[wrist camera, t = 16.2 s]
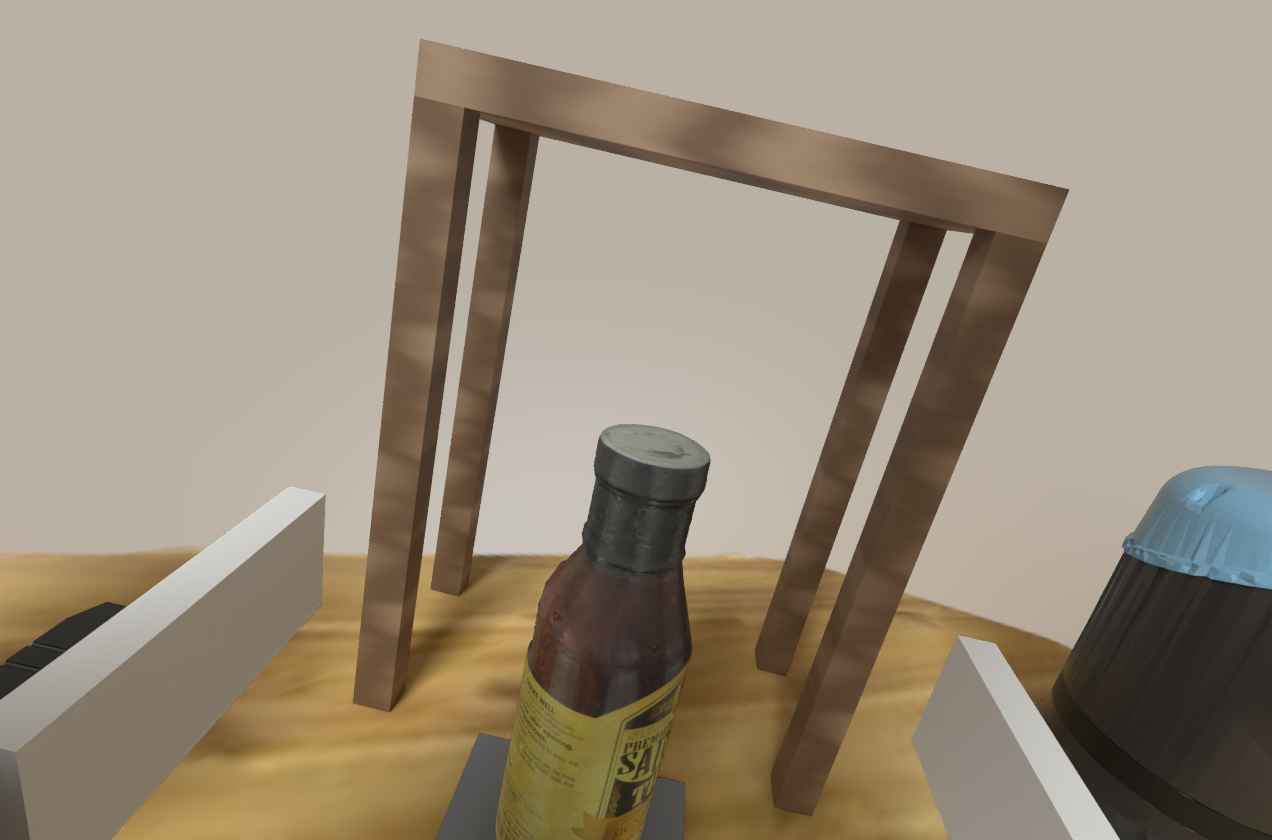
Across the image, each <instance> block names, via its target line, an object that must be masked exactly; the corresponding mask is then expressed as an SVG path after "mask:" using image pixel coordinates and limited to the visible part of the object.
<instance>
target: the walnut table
mask: <svg viewBox="0 0 1272 840" xmlns="http://www.w3.org/2000/svg"><path fill="white" fill-rule="evenodd" d="M479 119H481V120H484V121H487V122H490V123H493V124H495V130H494V138H493V144H492V152H491V158H490V166H489V173H488V180H487V188H486V194H485V202H484V209H483V216H482V224H481V230H480V238H479V245H478V252H477V259H476V267H475V274H474V281H473V288H472V295H471V303H470V310H469V317H468V324H467V332H466V339H465V346H464V353H463V360H462V367H461V375H460V382H459V389H458V397H457V403H456V410H455V418H454V425H453V432H452V439H451V447H450V453H449V461H448V468H447V475H446V482H445V490H444V497H443V504H442V511H441V518H440V526H439V533H438V540H437V548H436V554H435V561H434V569H433V576H432V583H431V589H432V590H436V591H440V592H444V593H448V594H452V595H457V596H459V595H460V593H461V592H462V590H463V588H464V587H465V585H466V583H467V582H468V579H469V573H470V567H471V560H472V554H473V548H474V541H475V535H476V529H477V522H478V516H479V510H480V504H481V497H482V491H483V485H484V478H485V472H486V466H487V460H488V454H489V448H490V441H491V434H492V429H493V423H494V416H495V410H496V404H497V397H498V391H499V385H500V378H501V372H502V366H503V360H504V354H505V347H506V341H507V335H508V328H509V323H510V316H511V310H512V303H513V297H514V291H515V284H516V279H517V272H518V266H519V260H520V253H521V247H522V241H523V235H524V229H525V222H526V215H527V210H528V204H529V197H530V191H531V185H532V178H533V172H534V166H535V160H536V154H537V147H538V141H539V136H542V137H546V138H550V139H554V140H559V141H563V142H568V143H571V144H576V145H580V146H585V147H589V148H593V149H597V150H602V151H606V152H610V153H614V154H619V155H623V156H627V157H631V158H636V159H640V160H644V161H648V162H653V163H658V164H662V165H666V166H670V167H674V168H678V169H683V170H687V171H692V172H695V173H700V174H704V175H709V176H713V177H717V178H721V179H726V180H730V181H735V182H738V183H743V184H747V185H751V186H755V187H760V188H764V189H768V190H772V191H777V192H781V193H785V194H790V195H794V196H798V197H803V198H807V199H811V200H815V201H820V202H824V203H828V204H833V205H837V206H841V207H845V208H849V209H854V210H858V211H862V212H867V213H871V214H875V215H879V216H884V217H888V218H892V219H897V220H900V221H899V225H898V227H897V230H896V233H895V236H894V239H893V242H892V245H891V248H890V251H889V254H888V257H887V260H886V263H885V266H884V269H883V272H882V275H881V278H880V281H879V284H878V287H877V290H876V293H875V296H874V299H873V302H872V305H871V307H870V310H869V314H868V316H867V319H866V322H865V325H864V328H863V331H862V334H861V337H860V340H859V343H858V346H857V349H856V352H855V355H854V358H853V361H852V364H851V367H850V370H849V373H848V376H847V379H846V382H845V385H844V388H843V391H842V393H841V396H840V399H839V402H838V406H837V408H836V411H835V414H834V417H833V420H832V423H831V426H830V429H829V432H828V435H827V438H826V441H825V444H824V447H823V450H822V453H821V456H820V459H819V462H818V465H817V468H816V471H815V474H814V477H813V480H812V483H811V485H810V489H809V491H808V494H807V497H806V500H805V503H804V506H803V509H802V512H801V515H800V518H799V521H798V524H797V527H796V530H795V533H794V536H793V539H792V542H791V545H790V548H789V551H788V554H787V557H786V559H785V562H784V565H783V568H782V571H781V574H780V577H779V580H778V583H777V586H776V589H775V592H774V595H773V598H772V601H771V604H770V607H769V610H768V613H767V616H766V619H765V622H764V625H763V628H762V631H761V634H760V637H759V640H758V642H757V645H756V648H755V654H756V662H757V669H761V670H765V671H769V672H773V673H777V674H781V675H785V676H786V674H787V671H788V668H789V666H790V663H791V660H792V657H793V655H794V652H795V649H796V646H797V644H798V641H799V638H800V635H801V632H802V630H803V627H804V624H805V621H806V619H807V616H808V613H809V610H810V608H811V605H812V602H813V599H814V596H815V594H816V591H817V588H818V585H819V583H820V580H821V577H822V574H823V572H824V569H825V566H826V563H827V560H828V558H829V555H830V552H831V549H832V547H833V544H834V541H835V538H836V536H837V533H838V530H839V527H840V524H841V521H842V519H843V516H844V513H845V510H846V508H847V505H848V502H849V499H850V497H851V494H852V491H853V488H854V486H855V483H856V480H857V477H858V474H859V472H860V469H861V466H862V463H863V461H864V458H865V455H866V453H867V450H868V447H869V444H870V441H871V439H872V436H873V433H874V430H875V428H876V425H877V422H878V419H879V416H880V413H881V411H882V408H883V405H884V403H885V400H886V397H887V394H888V392H889V389H890V386H891V383H892V380H893V378H894V375H895V372H896V369H897V367H898V364H899V361H900V358H901V355H902V353H903V350H904V347H905V344H906V342H907V339H908V336H909V333H910V331H911V328H912V325H913V322H914V319H915V317H916V314H917V311H918V308H919V306H920V303H921V300H922V297H923V295H924V292H925V289H926V286H927V283H928V281H929V278H930V275H931V272H932V269H933V267H934V264H935V261H936V259H937V256H938V253H939V250H940V248H941V245H942V242H943V239H944V236H945V234H946V231H947V230H950V231H958V232H965V233H973V234H974V235H973V238H972V240H971V243H970V245H969V248H968V251H967V253H966V256H965V259H964V262H963V264H962V267H961V270H960V272H959V275H958V278H957V280H956V283H955V286H954V288H953V291H952V294H951V296H950V299H949V302H948V304H947V307H946V310H945V313H944V315H943V318H942V320H941V323H940V326H939V328H938V331H937V334H936V336H935V339H934V342H933V345H932V347H931V350H930V352H929V355H928V358H927V360H926V363H925V366H924V368H923V371H922V374H921V376H920V379H919V382H918V384H917V387H916V390H915V392H914V395H913V398H912V400H911V403H910V406H909V408H908V411H907V414H906V416H905V419H904V422H903V425H902V427H901V430H900V432H899V435H898V438H897V440H896V443H895V446H894V448H893V451H892V454H891V456H890V459H889V462H888V464H887V467H886V470H885V473H884V475H883V478H882V480H881V483H880V486H879V488H878V491H877V494H876V496H875V499H874V502H873V504H872V507H871V510H870V512H869V515H868V518H867V520H866V523H865V526H864V529H863V531H862V534H861V536H860V539H859V542H858V544H857V547H856V550H855V552H854V555H853V558H852V560H851V563H850V566H849V568H848V571H847V574H846V576H845V579H844V582H843V584H842V587H841V590H840V592H839V595H838V598H837V600H836V603H835V606H834V608H833V611H832V614H831V616H830V619H829V622H828V624H827V627H826V630H825V632H824V635H823V638H822V640H821V643H820V646H819V648H818V651H817V654H816V656H815V659H814V662H813V664H812V667H811V670H810V672H809V675H808V678H807V680H806V683H805V686H804V688H803V691H802V694H801V696H800V699H799V702H798V704H797V707H796V710H795V712H794V715H793V718H792V720H791V723H790V726H789V728H788V731H787V734H786V736H785V739H784V742H783V744H782V747H781V750H780V752H779V755H778V758H777V760H776V763H775V766H774V768H773V771H772V774H771V782H772V790H773V798H774V806H775V807H777V808H782V809H786V810H790V811H794V812H798V813H802V814H806V815H810V816H812V814H813V811H814V809H815V806H816V804H817V801H818V799H819V797H820V794H821V792H822V789H823V787H824V784H825V782H826V780H827V777H828V775H829V772H830V770H831V767H832V765H833V763H834V760H835V758H836V755H837V753H838V750H839V748H840V746H841V743H842V741H843V738H844V736H845V733H846V731H847V728H848V726H849V724H850V721H851V719H852V716H853V714H854V711H855V709H856V707H857V704H858V702H859V699H860V697H861V694H862V692H863V690H864V687H865V685H866V682H867V680H868V677H869V675H870V673H871V670H872V668H873V665H874V663H875V660H876V658H877V656H878V653H879V651H880V648H881V646H882V643H883V641H884V639H885V636H886V634H887V631H888V629H889V626H890V624H891V622H892V619H893V617H894V614H895V612H896V609H897V607H898V605H899V602H900V600H901V597H902V595H903V592H904V590H905V588H906V585H907V582H908V580H909V578H910V575H911V573H912V570H913V568H914V566H915V563H916V561H917V558H918V556H919V554H920V551H921V549H922V546H923V544H924V541H925V539H926V537H927V534H928V532H929V529H930V527H931V524H932V522H933V520H934V517H935V515H936V512H937V510H938V507H939V505H940V503H941V500H942V498H943V495H944V493H945V490H946V488H947V485H948V483H949V481H950V478H951V476H952V473H953V471H954V468H955V466H956V464H957V461H958V459H959V456H960V454H961V451H962V449H963V447H964V444H965V442H966V439H967V437H968V435H969V432H970V430H971V427H972V425H973V422H974V420H975V418H976V414H977V413H978V410H979V408H980V405H981V403H982V401H983V398H984V395H985V393H986V391H987V388H988V386H989V383H990V381H991V379H992V376H993V374H994V371H995V369H996V366H997V364H998V362H999V359H1000V357H1001V354H1002V352H1003V349H1004V347H1005V345H1006V342H1007V340H1008V337H1009V335H1010V332H1011V330H1012V328H1013V325H1014V323H1015V320H1016V318H1017V316H1018V313H1019V311H1020V308H1021V306H1022V303H1023V301H1024V299H1025V296H1026V294H1027V291H1028V289H1029V286H1030V284H1031V282H1032V279H1033V277H1034V274H1035V272H1036V269H1037V267H1038V264H1039V262H1040V260H1041V257H1042V255H1043V252H1044V250H1045V247H1046V245H1047V243H1048V240H1049V238H1050V235H1051V233H1052V230H1053V228H1054V225H1055V223H1056V221H1057V218H1058V216H1059V214H1060V211H1061V209H1062V206H1063V204H1064V201H1065V199H1066V197H1067V194H1068V192H1069V189H1065V188H1060V187H1056V186H1052V185H1048V184H1043V183H1038V182H1035V181H1030V180H1026V179H1022V178H1017V177H1013V176H1009V175H1004V174H1000V173H996V172H991V171H987V170H983V169H979V168H974V167H970V166H966V165H962V164H957V163H953V162H948V161H944V160H940V159H935V158H931V157H927V156H922V155H918V154H914V153H910V152H906V151H901V150H897V149H893V148H888V147H884V146H880V145H875V144H871V143H867V142H863V141H858V140H854V139H850V138H845V137H841V136H837V135H832V134H828V133H824V132H820V131H815V130H811V129H807V128H802V127H798V126H794V125H789V124H785V123H781V122H776V121H772V120H768V119H764V118H759V117H755V116H751V115H746V114H742V113H738V112H734V111H729V110H725V109H721V108H716V107H712V106H708V105H703V104H699V103H694V102H690V101H686V100H682V99H678V98H673V97H669V96H665V95H660V94H655V93H652V92H647V91H643V90H638V89H635V88H630V87H626V86H622V85H617V84H613V83H609V82H604V81H600V80H596V79H591V78H587V77H583V76H579V75H574V74H570V73H566V72H561V71H557V70H553V69H548V68H544V67H540V66H536V65H531V64H527V63H522V62H518V61H514V60H509V59H505V58H501V57H497V56H492V55H488V54H484V53H479V52H475V51H471V50H467V49H462V48H458V47H453V46H450V45H445V44H441V43H437V42H432V41H428V40H423V39H420V44H419V54H418V64H417V74H416V84H415V93H414V103H413V113H412V124H411V133H410V143H409V153H408V164H407V173H406V183H405V193H404V203H403V212H402V213H403V214H402V222H401V233H400V242H399V253H398V262H397V272H396V282H395V293H394V302H393V312H392V322H391V331H390V341H389V351H388V361H387V371H386V381H385V391H384V401H383V411H382V420H381V430H380V441H379V450H378V460H377V470H376V480H375V491H374V501H373V511H372V520H371V530H370V539H369V549H368V559H367V569H366V579H365V589H364V599H363V609H362V619H361V628H360V638H359V648H358V658H357V668H356V678H355V688H354V698H353V703H355V704H359V705H363V706H367V707H371V708H375V709H379V710H383V711H387V712H390V710H391V708H392V707H393V705H394V703H395V702H396V700H397V698H398V697H399V695H400V693H401V692H402V690H403V688H404V687H405V681H406V674H407V666H408V658H409V651H410V643H411V636H412V628H413V620H414V613H415V605H416V598H417V590H418V582H419V575H420V567H421V560H422V552H423V544H424V537H425V529H426V521H427V514H428V506H429V498H430V491H431V483H432V476H433V468H434V460H435V453H436V445H437V438H438V430H439V422H440V415H441V407H442V399H443V392H444V384H445V377H446V369H447V361H448V354H449V347H450V339H451V331H452V324H453V316H454V309H455V300H456V293H457V286H458V278H459V270H460V263H461V255H462V248H463V240H464V232H465V225H466V217H467V209H468V202H469V194H470V187H471V179H472V172H473V164H474V156H475V149H476V141H477V134H478V126H479Z"/></svg>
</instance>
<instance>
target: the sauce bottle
mask: <svg viewBox="0 0 1272 840" xmlns="http://www.w3.org/2000/svg"><path fill="white" fill-rule="evenodd" d="M709 466H710V455H709V453H708V452H707V451H706V450H705V449H704V448H703V447H702V446H701V445H700V444H698V443H697V442H695V441H694V440H692V439H690V438H688V437H686V436H684V435H682V434H680V433H677V432H674V431H671V430H668V429H664V428H659V427H655V426H647V425H636V424H620V425H615V426H611V427H608V428H606V429H605V430H604V431H603V432H602V434H601V436H600V437H599V441H598V445H597V451H596V457H595V462H594V471H595V476H596V481H595V486H594V491H593V495H592V501H591V506H590V510H589V515H588V520H587V522H586V523H585V524H584V528H583V532H582V538H583V544H582V545H581V546H580V547H579V548H578V549H577V550H576V551H575V552H574V553H573V554H571V556H570V557H569V558H568V559H567V560H565V561H562V562H561V563H560V564H559V566H558V567H557V569H556V570H555V572H554V573H553V574H552V575H551V577H550V578H549V579H548V581H547V582H546V583H545V587H544V591H543V594H542V597H541V599H540V601H539V604H538V613H537V618H536V625H535V631H534V635H533V640H531V642H530V644H529V647H528V651H527V655H526V661H525V666H524V671H523V677H522V682H521V687H520V692H519V698H518V703H517V708H516V714H515V719H514V725H513V730H512V735H511V740H510V745H509V751H508V756H507V761H506V766H505V771H504V776H503V782H502V788H501V793H500V799H499V805H498V811H497V816H496V840H640V838H641V834H642V830H643V827H644V823H645V820H646V816H647V812H648V809H649V805H650V802H651V798H652V794H653V791H654V787H655V784H656V781H657V777H658V774H659V770H660V766H661V762H662V758H663V755H664V751H665V749H666V746H667V742H668V737H669V733H670V730H671V727H672V723H673V719H674V715H675V712H676V708H677V705H678V701H679V697H680V694H681V690H682V687H683V683H684V680H685V676H686V671H687V668H688V664H689V660H690V657H691V653H692V643H691V635H690V627H689V619H688V611H687V603H686V595H685V587H684V579H683V567H682V560H683V559H684V557H685V554H686V552H685V543H686V538H687V535H688V531H689V526H690V523H691V520H692V515H693V511H694V508H695V503H696V501H697V500H698V499H699V497H700V496H701V494H702V493H703V491H704V489H705V486H706V482H707V474H708V470H709Z"/></svg>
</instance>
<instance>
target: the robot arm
mask: <svg viewBox="0 0 1272 840" xmlns="http://www.w3.org/2000/svg"><path fill="white" fill-rule="evenodd" d="M324 518H325V494H321V493H317V492H312V491H308V490H303V489H299V488H295V487H290V486H289V487H288V488H286V489H285V490H284V491H282V492H281V493H280V494H279V495H277V496H276V497H274V498H273V499H272V500H270V501H269V502H268V503H266V504H265V505H264V506H262V507H261V508H259V509H258V510H257V511H255V512H254V513H253V514H251V515H250V516H249V517H247V518H246V519H245V520H243V521H242V522H240V523H239V524H238V525H236V526H235V527H234V528H232V529H231V530H230V531H228V532H227V533H226V534H224V535H223V536H222V537H220V538H219V539H217V540H216V541H215V542H214V543H212V544H211V545H209V546H208V547H207V548H205V549H204V550H203V551H201V552H200V553H199V554H197V555H196V556H194V557H193V558H192V559H190V560H189V561H188V562H186V563H185V564H184V565H182V566H181V567H180V568H178V569H177V570H176V571H174V572H173V573H171V574H170V575H169V576H167V577H166V578H165V579H163V580H162V581H161V582H159V583H158V584H157V585H155V586H154V587H153V588H151V589H150V590H149V591H147V592H146V593H144V594H143V595H142V596H140V597H139V598H138V599H136V600H135V601H134V602H132V603H131V604H130V605H128V606H123V605H118V604H114V603H109V602H105V603H103V604H101V605H98V606H96V607H93V608H91V609H88V610H86V611H84V612H81V613H79V614H76V615H74V616H71V617H69V618H67V619H65V620H64V621H62V622H61V623H59V624H58V625H56V626H55V627H53V628H52V629H51V630H49V631H48V632H46V633H45V634H43V635H42V636H40V637H39V638H38V639H36V640H35V641H34V643H33V645H32V646H26V647H24V648H23V649H22V650H20V651H19V652H17V653H16V654H14V655H13V656H11V657H10V658H8V659H7V660H6V663H5V664H4V665H3V666H1V665H0V840H111V839H112V838H113V837H114V835H115V834H116V833H117V832H118V831H119V830H120V829H121V828H122V827H123V825H124V824H125V823H126V822H127V821H128V820H129V819H130V818H131V817H132V815H133V814H134V813H135V812H136V811H137V810H138V809H139V808H140V806H141V805H142V804H143V803H144V802H145V801H146V800H147V799H148V798H149V796H150V795H151V794H152V793H153V792H154V791H155V790H156V789H157V788H158V786H159V785H160V784H161V783H162V782H163V781H164V780H165V779H166V778H167V776H168V775H169V774H170V773H171V772H172V771H173V770H174V769H175V768H176V766H177V765H178V764H179V763H180V762H181V761H182V760H183V759H184V757H185V756H186V755H187V754H188V753H189V752H190V751H191V750H192V749H193V747H194V746H195V745H196V744H197V743H198V742H199V741H200V740H201V739H202V737H203V736H204V735H205V734H206V733H207V732H208V731H209V730H210V729H211V727H212V726H213V725H214V724H215V723H216V722H217V721H218V720H219V719H220V717H221V716H222V715H223V714H224V713H225V712H226V711H227V710H228V708H229V707H230V706H231V705H232V704H233V703H234V702H235V701H236V700H237V698H238V697H239V696H240V695H241V694H242V693H243V692H244V691H245V690H246V688H247V687H248V686H249V685H250V684H251V683H252V682H253V681H254V680H255V678H256V677H257V676H258V675H259V674H260V673H261V672H262V671H263V669H264V668H265V667H266V666H267V665H268V664H269V663H270V662H271V661H272V659H273V658H274V657H275V656H276V655H277V654H278V653H279V652H280V651H281V649H282V648H283V647H284V646H285V645H286V644H287V643H288V642H289V641H290V639H291V638H292V637H293V636H294V635H295V634H296V633H297V632H298V631H299V629H300V628H301V627H302V626H303V625H304V624H305V623H306V622H307V620H308V619H309V618H310V617H311V616H312V615H313V614H314V613H315V612H316V610H317V609H318V608H319V607H320V606H321V597H322V571H323V545H324ZM1122 547H1123V548H1124V553H1123V555H1122V557H1121V559H1120V561H1119V563H1118V565H1117V566H1116V568H1115V571H1114V572H1113V574H1112V576H1111V578H1110V580H1109V582H1108V584H1107V586H1106V588H1105V590H1104V591H1103V593H1102V595H1101V597H1100V599H1099V601H1098V603H1097V605H1096V607H1095V609H1094V611H1093V613H1092V615H1091V617H1090V618H1089V620H1088V622H1087V624H1086V626H1085V628H1084V630H1083V631H1082V633H1081V635H1080V637H1079V639H1078V641H1077V643H1076V644H1075V646H1074V648H1073V650H1072V652H1071V653H1070V655H1069V657H1068V659H1067V661H1066V663H1065V665H1064V667H1063V669H1062V671H1061V673H1060V675H1059V676H1058V678H1057V680H1056V682H1055V684H1054V686H1053V688H1052V689H1051V691H1050V693H1049V694H1048V695H1047V696H1046V697H1045V698H1044V699H1043V700H1042V701H1040V702H1039V703H1038V704H1037V705H1036V706H1035V705H1034V703H1033V702H1032V700H1031V699H1030V697H1029V696H1028V694H1027V692H1026V691H1025V689H1024V688H1023V686H1022V685H1021V683H1020V681H1019V680H1018V678H1017V677H1016V675H1015V674H1014V672H1013V670H1012V669H1011V667H1010V666H1009V664H1008V663H1007V661H1006V659H1005V658H1004V656H1003V655H1002V653H1001V651H1000V650H999V648H998V647H997V645H996V644H995V643H992V642H987V641H983V640H978V639H974V638H969V637H965V636H960V635H957V638H956V640H955V642H954V644H953V647H952V649H951V651H950V653H949V656H948V658H947V660H946V663H945V665H944V667H943V669H942V672H941V674H940V676H939V678H938V681H937V683H936V685H935V687H934V690H933V692H932V694H931V696H930V699H929V701H928V703H927V705H926V708H925V710H924V712H923V714H922V717H921V719H920V721H919V724H918V726H917V728H916V730H915V733H914V735H913V737H912V741H913V743H914V746H915V748H916V751H917V754H918V756H919V759H920V762H921V764H922V767H923V770H924V772H925V775H926V778H927V780H928V783H929V786H930V788H931V791H932V794H933V796H934V799H935V802H936V804H937V807H938V810H939V812H940V815H941V818H942V820H943V823H944V826H945V828H946V831H947V834H948V836H949V839H950V840H1272V471H1268V470H1261V469H1254V468H1246V467H1236V466H1205V467H1199V468H1193V469H1190V470H1187V471H1184V472H1182V473H1179V474H1178V475H1176V476H1174V477H1172V478H1171V479H1170V480H1169V481H1167V483H1165V484H1164V486H1163V487H1162V488H1161V490H1160V491H1159V493H1158V494H1157V496H1156V498H1155V499H1154V501H1153V503H1152V504H1151V506H1150V507H1149V509H1148V510H1147V512H1146V514H1145V515H1144V517H1143V518H1142V520H1141V522H1140V523H1139V525H1138V526H1137V528H1136V530H1135V531H1134V532H1132V533H1130V534H1129V535H1128V536H1127V537H1126V538H1125V540H1124V542H1123V545H1122Z"/></svg>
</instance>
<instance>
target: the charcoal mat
mask: <svg viewBox="0 0 1272 840" xmlns="http://www.w3.org/2000/svg"><path fill="white" fill-rule="evenodd" d="M509 745H510V740H506V739H502V738H498V737H494V736H490V735H486V734H482V733H479V735H478V737H477V740H476V742H475V744H474V747H473V749H472V752H471V754H470V757H469V759H468V762H467V764H466V766H465V769H464V771H463V774H462V776H461V779H460V781H459V784H458V786H457V788H456V791H455V793H454V796H453V798H452V801H451V803H450V806H449V808H448V810H447V813H446V815H445V818H444V820H443V823H442V825H441V828H440V830H439V832H438V835H437V837H436V840H496V816H497V811H498V805H499V799H500V793H501V788H502V782H503V776H504V771H505V766H506V761H507V756H508V751H509ZM684 798H685V783H681V782H677V781H673V780H669V779H665V778H661V777H657V781H656V784H655V787H654V791H653V794H652V798H651V802H650V805H649V809H648V812H647V816H646V820H645V823H644V827H643V830H642V834H641V838H640V840H684Z"/></svg>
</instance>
